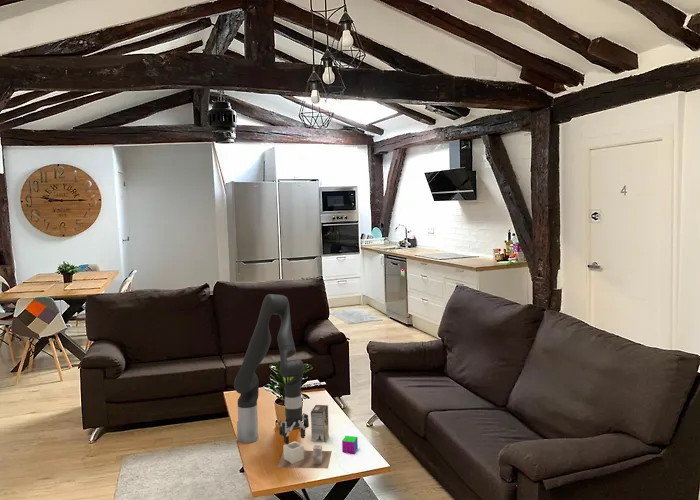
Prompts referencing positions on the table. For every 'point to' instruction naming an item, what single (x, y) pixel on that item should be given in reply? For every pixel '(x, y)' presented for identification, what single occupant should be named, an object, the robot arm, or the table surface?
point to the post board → (309, 459)
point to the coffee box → (319, 423)
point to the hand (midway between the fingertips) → (294, 440)
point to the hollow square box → (293, 452)
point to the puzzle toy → (349, 444)
